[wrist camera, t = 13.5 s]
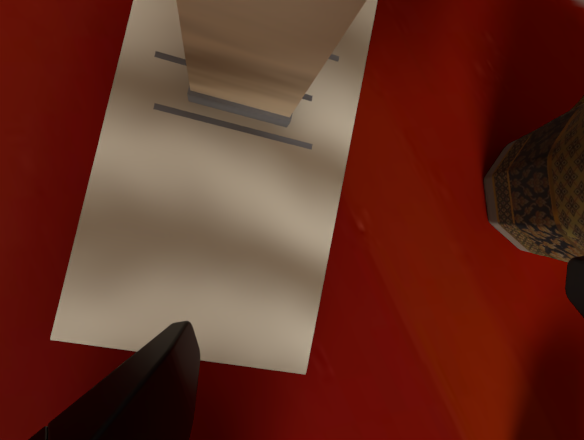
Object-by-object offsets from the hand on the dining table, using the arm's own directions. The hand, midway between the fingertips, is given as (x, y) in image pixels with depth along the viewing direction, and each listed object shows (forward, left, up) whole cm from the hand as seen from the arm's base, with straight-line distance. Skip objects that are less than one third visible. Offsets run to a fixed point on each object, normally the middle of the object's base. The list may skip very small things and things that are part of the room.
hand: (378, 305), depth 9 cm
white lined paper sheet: (+2, +7, -11) cm, 14 cm away
